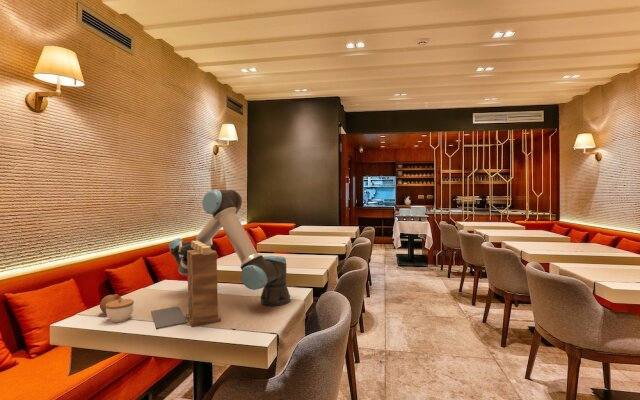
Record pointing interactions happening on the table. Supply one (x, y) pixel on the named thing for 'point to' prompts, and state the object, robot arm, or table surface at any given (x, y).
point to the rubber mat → (168, 317)
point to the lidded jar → (119, 309)
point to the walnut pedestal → (202, 288)
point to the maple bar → (201, 247)
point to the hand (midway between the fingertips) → (196, 242)
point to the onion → (107, 300)
